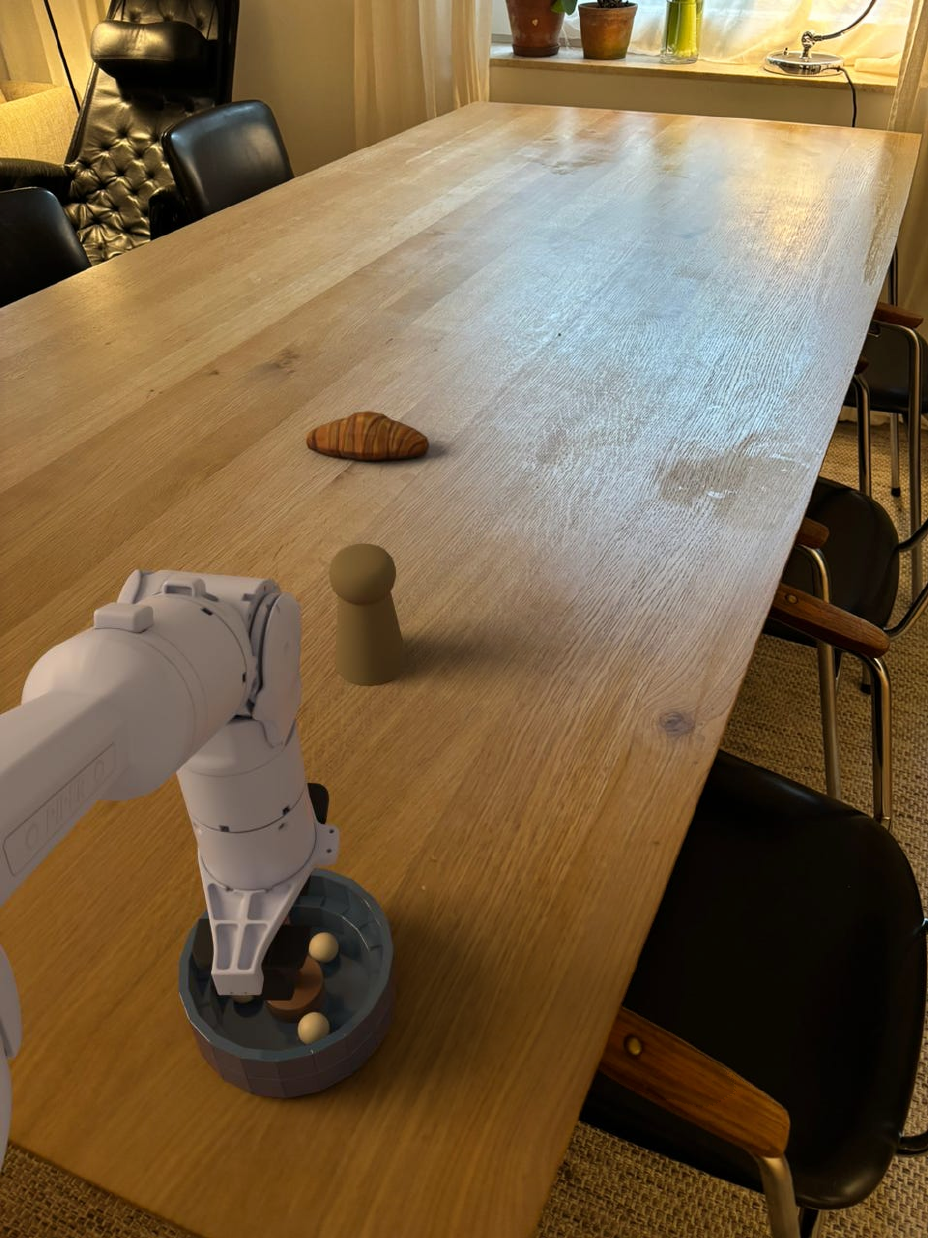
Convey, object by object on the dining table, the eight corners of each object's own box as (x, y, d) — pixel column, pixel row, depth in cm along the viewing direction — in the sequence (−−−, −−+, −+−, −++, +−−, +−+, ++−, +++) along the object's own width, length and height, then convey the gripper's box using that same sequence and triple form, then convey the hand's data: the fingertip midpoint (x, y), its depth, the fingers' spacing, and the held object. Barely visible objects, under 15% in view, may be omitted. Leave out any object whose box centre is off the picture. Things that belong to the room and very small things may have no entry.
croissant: (300, 467, 106) (294, 426, 103) (313, 434, 111) (308, 394, 108) (425, 473, 105) (423, 431, 102) (433, 440, 110) (431, 399, 107)
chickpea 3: (307, 1057, 57) (303, 1042, 56) (295, 1031, 58) (291, 1016, 57) (335, 1042, 58) (332, 1027, 56) (323, 1016, 59) (320, 1001, 58)
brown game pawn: (421, 652, 84) (415, 547, 77) (379, 695, 80) (369, 589, 73) (363, 627, 86) (353, 523, 79) (320, 668, 82) (305, 563, 75)
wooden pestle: (278, 1034, 58) (256, 951, 52) (256, 984, 60) (232, 900, 55) (335, 1005, 59) (319, 921, 54) (311, 957, 62) (293, 872, 56)
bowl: (235, 1144, 54) (219, 1104, 51) (168, 966, 62) (151, 921, 59) (432, 1035, 59) (429, 992, 55) (346, 882, 67) (339, 837, 63)
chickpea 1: (237, 1014, 59) (232, 999, 58) (227, 989, 60) (221, 974, 59) (265, 1000, 60) (261, 984, 59) (255, 976, 61) (250, 960, 60)
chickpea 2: (317, 973, 61) (314, 958, 60) (306, 951, 62) (303, 935, 61) (344, 960, 62) (341, 944, 60) (332, 938, 63) (329, 922, 62)
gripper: (310, 919, 42) (340, 1068, 50) (344, 677, 53) (364, 835, 61) (143, 919, 42) (202, 1068, 51) (211, 678, 53) (250, 835, 62)
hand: (282, 940), depth 56 cm, fingers open, 6 cm apart
